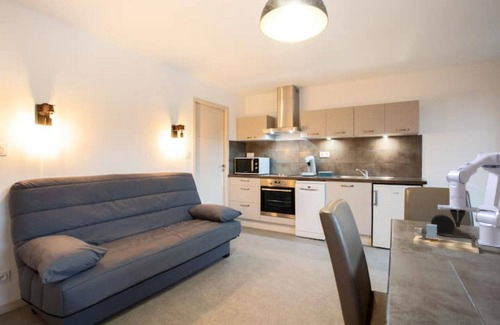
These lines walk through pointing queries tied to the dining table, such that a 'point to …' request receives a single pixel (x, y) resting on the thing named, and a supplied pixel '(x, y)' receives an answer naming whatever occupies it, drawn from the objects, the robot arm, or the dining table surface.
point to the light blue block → (431, 231)
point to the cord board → (445, 241)
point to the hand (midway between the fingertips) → (457, 226)
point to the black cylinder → (443, 224)
